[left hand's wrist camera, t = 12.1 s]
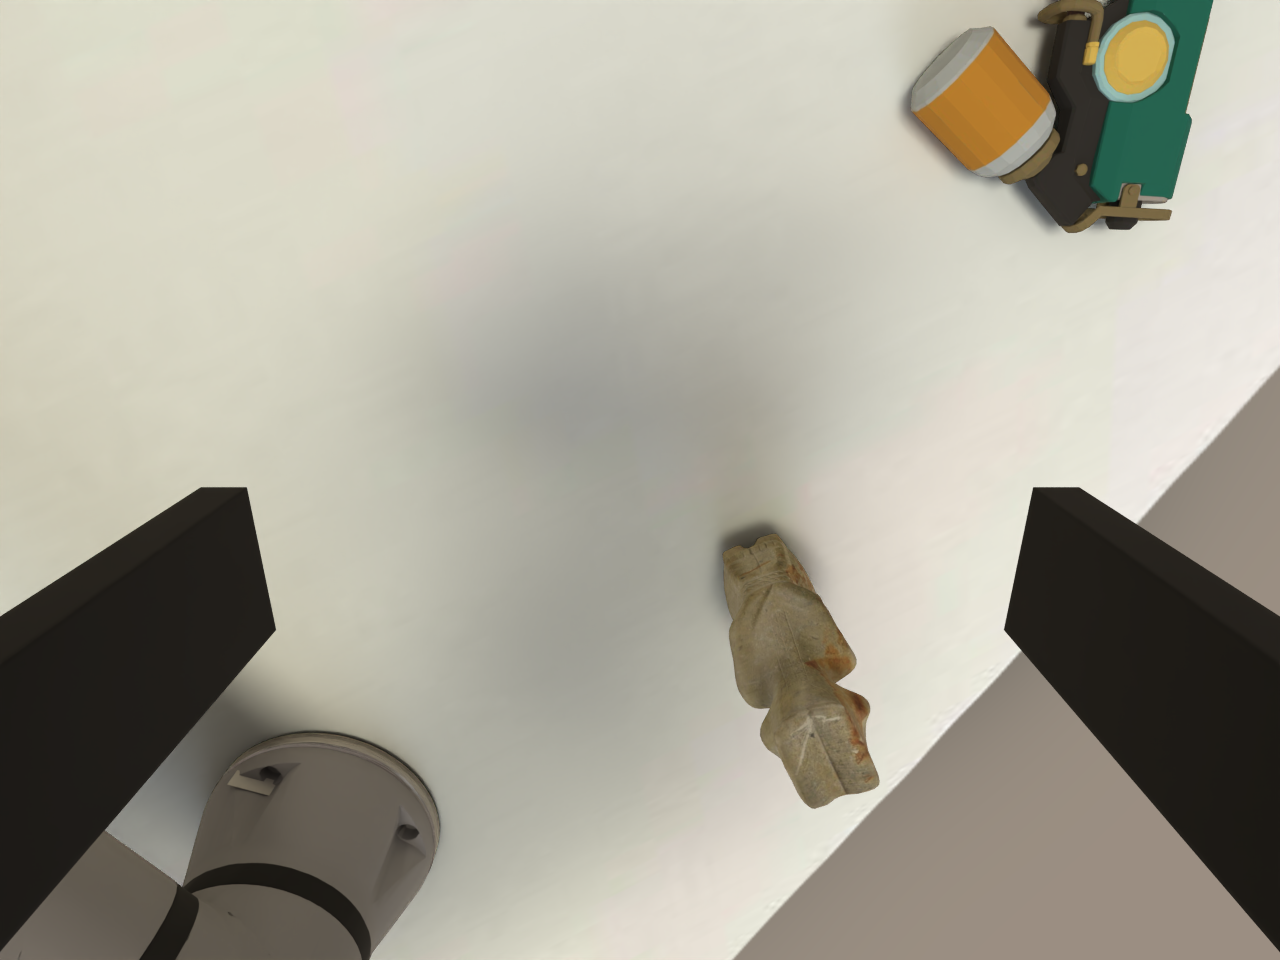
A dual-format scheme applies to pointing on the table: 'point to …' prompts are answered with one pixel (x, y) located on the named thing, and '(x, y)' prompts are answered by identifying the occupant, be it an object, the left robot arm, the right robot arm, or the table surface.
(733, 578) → the sculpture
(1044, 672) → the left robot arm
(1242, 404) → the table surface
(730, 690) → the table surface
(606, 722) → the table surface
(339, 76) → the table surface
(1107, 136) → the spray gun
